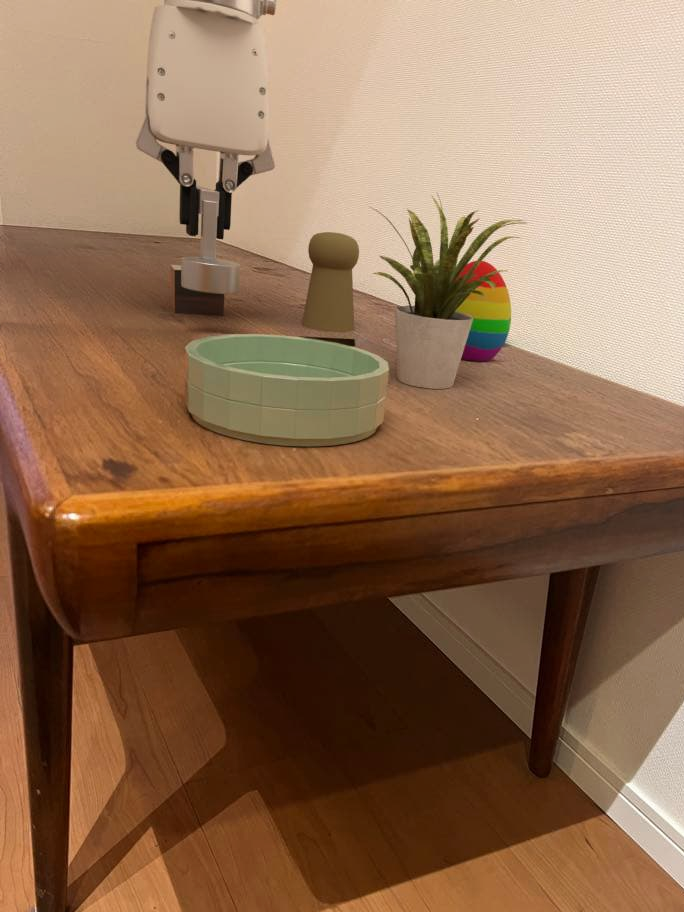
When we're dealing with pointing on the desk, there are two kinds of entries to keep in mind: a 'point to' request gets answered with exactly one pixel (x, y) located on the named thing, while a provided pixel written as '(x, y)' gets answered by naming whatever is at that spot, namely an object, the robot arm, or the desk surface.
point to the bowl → (285, 389)
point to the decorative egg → (486, 315)
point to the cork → (331, 285)
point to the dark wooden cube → (193, 298)
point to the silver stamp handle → (209, 254)
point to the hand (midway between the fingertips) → (204, 234)
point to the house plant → (437, 302)
